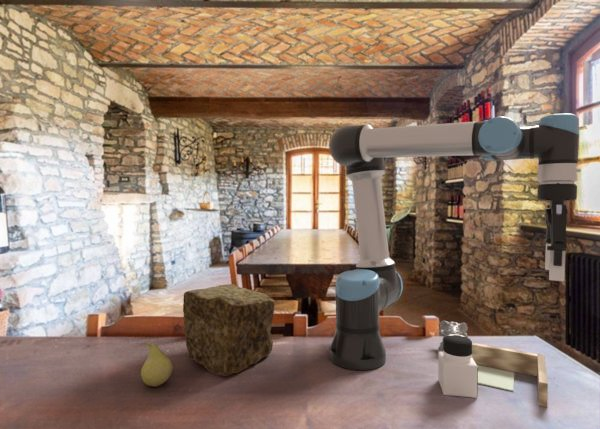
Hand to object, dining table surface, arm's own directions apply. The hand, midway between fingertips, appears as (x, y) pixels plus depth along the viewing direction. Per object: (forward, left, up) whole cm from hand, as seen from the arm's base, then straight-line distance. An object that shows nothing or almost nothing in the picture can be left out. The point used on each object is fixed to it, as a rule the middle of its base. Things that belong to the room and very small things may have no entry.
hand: (553, 275), depth 87 cm
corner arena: (-13, -5, -25) cm, 29 cm away
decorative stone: (-75, -28, -26) cm, 84 cm away
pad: (-13, -4, -25) cm, 29 cm away
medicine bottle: (-19, -14, -26) cm, 35 cm away
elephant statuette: (-24, +10, -26) cm, 36 cm away
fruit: (-80, -48, -26) cm, 97 cm away
